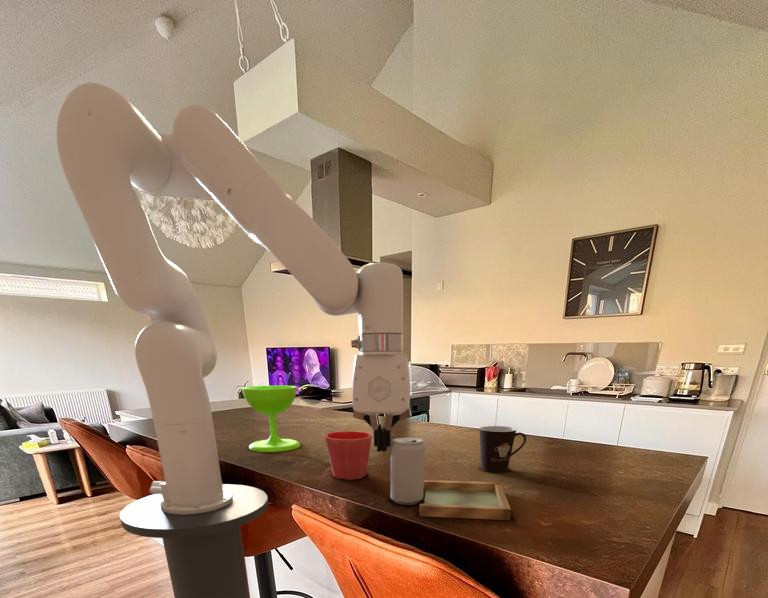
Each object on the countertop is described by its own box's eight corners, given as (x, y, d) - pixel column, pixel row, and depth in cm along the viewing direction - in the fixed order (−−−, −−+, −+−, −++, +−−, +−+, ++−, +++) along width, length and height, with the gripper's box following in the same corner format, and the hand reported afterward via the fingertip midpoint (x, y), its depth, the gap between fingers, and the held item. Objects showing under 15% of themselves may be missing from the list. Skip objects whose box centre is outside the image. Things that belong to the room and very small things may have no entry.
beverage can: (406, 508, 78) (408, 444, 74) (383, 500, 82) (383, 439, 78) (429, 501, 82) (432, 439, 78) (406, 493, 86) (407, 435, 82)
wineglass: (302, 450, 128) (298, 388, 121) (247, 453, 124) (240, 389, 117) (298, 440, 142) (294, 385, 136) (249, 443, 138) (242, 386, 132)
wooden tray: (419, 516, 74) (419, 505, 74) (424, 489, 89) (424, 480, 89) (510, 520, 72) (511, 509, 71) (499, 491, 87) (500, 482, 87)
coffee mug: (476, 472, 101) (480, 431, 98) (476, 464, 109) (478, 425, 106) (527, 474, 100) (532, 432, 96) (522, 466, 107) (527, 426, 104)
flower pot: (381, 473, 102) (381, 433, 98) (353, 484, 93) (352, 440, 90) (346, 467, 107) (345, 429, 104) (317, 477, 98) (315, 436, 95)
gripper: (333, 346, 71) (339, 454, 77) (423, 344, 69) (421, 455, 75) (344, 347, 78) (348, 445, 84) (425, 345, 76) (423, 447, 82)
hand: (382, 450), depth 79 cm, fingers closed
